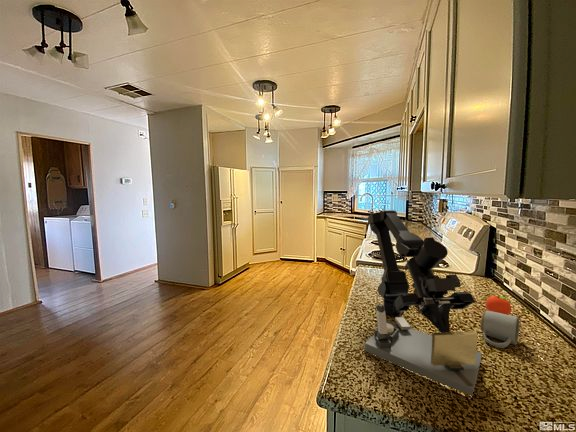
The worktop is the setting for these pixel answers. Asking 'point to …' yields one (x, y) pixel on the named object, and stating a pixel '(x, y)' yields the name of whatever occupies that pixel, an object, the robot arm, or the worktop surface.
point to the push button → (390, 329)
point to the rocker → (402, 323)
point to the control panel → (422, 358)
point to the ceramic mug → (500, 328)
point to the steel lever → (382, 323)
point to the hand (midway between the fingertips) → (447, 336)
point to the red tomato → (498, 305)
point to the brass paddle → (453, 349)
